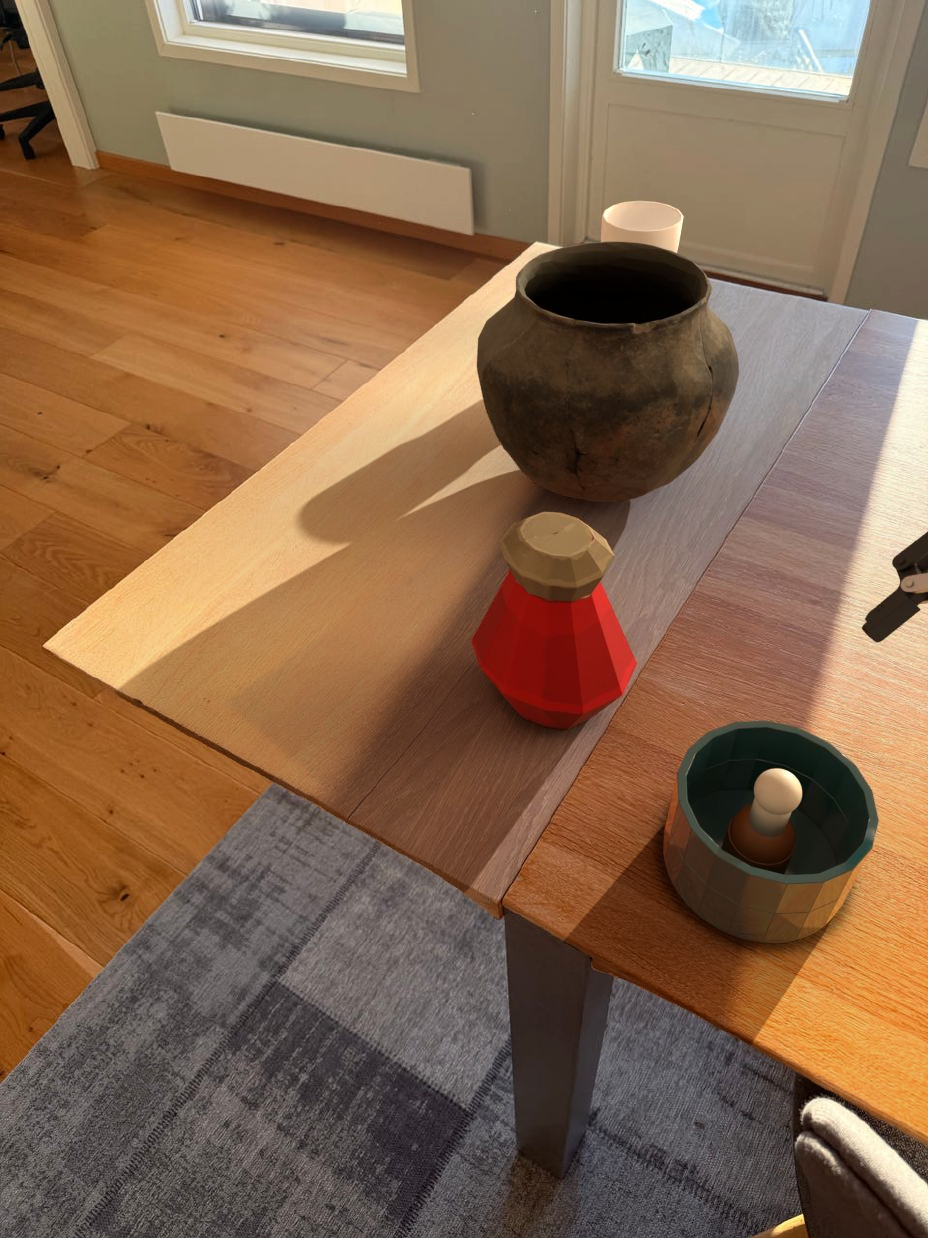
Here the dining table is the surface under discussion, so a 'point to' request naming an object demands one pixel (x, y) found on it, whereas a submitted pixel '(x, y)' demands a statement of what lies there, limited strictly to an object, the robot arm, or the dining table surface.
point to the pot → (607, 369)
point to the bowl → (823, 821)
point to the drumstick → (766, 823)
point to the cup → (643, 224)
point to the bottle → (554, 624)
